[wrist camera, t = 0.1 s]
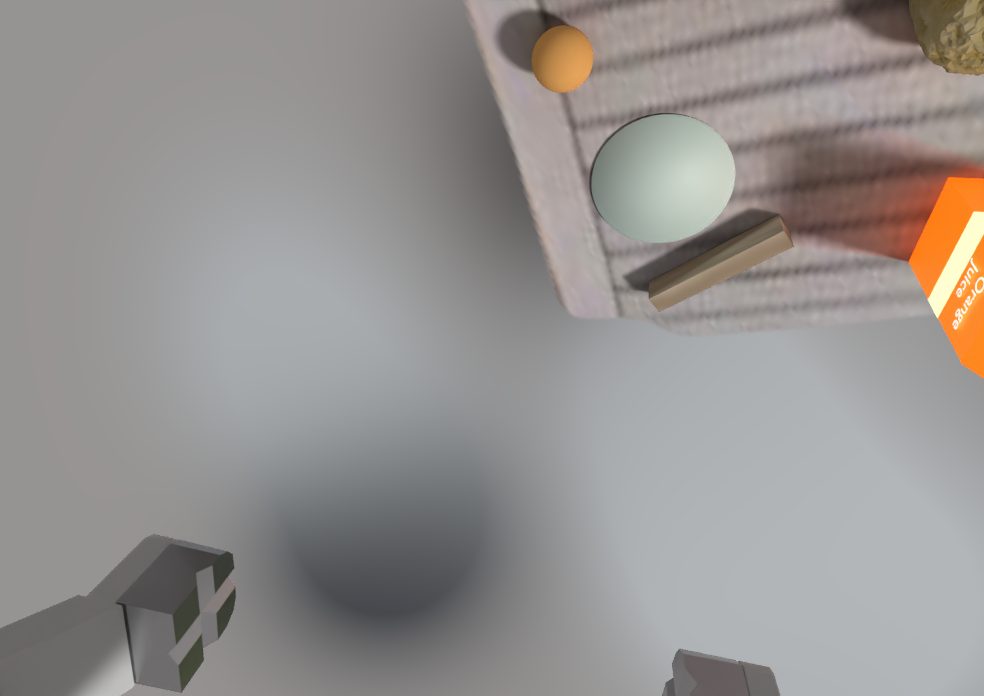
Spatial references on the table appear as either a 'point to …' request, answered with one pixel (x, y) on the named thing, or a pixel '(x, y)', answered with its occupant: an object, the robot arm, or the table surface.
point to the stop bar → (720, 263)
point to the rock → (951, 33)
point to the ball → (562, 59)
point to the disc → (663, 178)
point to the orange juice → (956, 267)
